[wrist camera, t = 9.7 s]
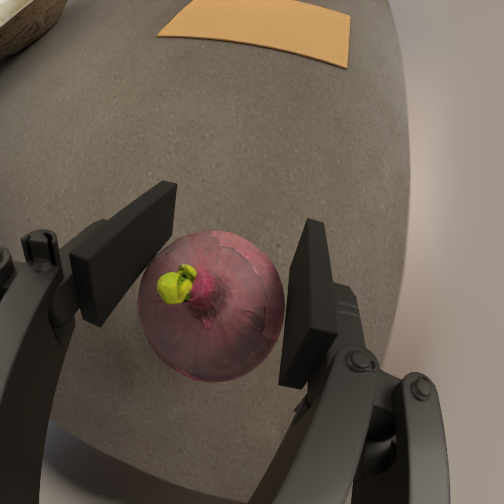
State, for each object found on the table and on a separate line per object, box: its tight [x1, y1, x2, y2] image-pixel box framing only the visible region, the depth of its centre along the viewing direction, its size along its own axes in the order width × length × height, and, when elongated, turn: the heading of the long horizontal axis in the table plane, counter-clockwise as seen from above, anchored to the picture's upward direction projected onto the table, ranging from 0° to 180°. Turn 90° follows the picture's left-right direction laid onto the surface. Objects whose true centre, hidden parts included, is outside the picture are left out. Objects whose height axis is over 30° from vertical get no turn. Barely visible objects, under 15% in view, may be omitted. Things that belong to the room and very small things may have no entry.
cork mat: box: [157, 0, 350, 69], centre depth 23 cm, size 20×14×1 cm
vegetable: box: [138, 231, 285, 382], centre depth 10 cm, size 6×6×10 cm
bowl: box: [0, 0, 67, 57], centre depth 19 cm, size 24×24×10 cm
